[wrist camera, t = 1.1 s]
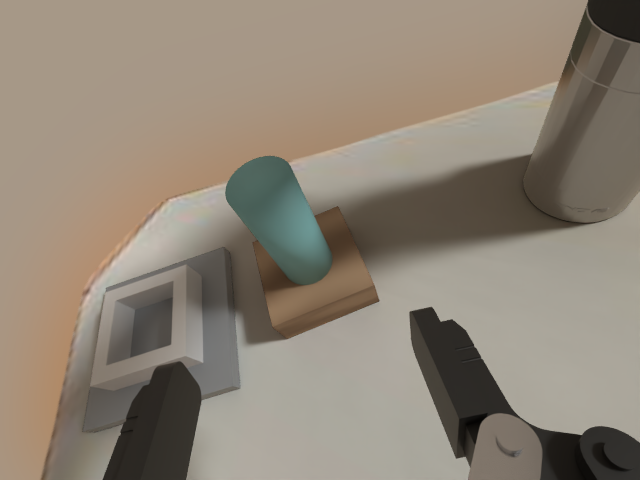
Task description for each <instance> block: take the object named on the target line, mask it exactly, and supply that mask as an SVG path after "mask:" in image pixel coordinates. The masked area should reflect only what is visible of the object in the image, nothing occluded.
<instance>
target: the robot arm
mask: <svg viewBox="0 0 640 480" xmlns="http://www.w3.org/2000/svg"><path fill="white" fill-rule="evenodd" d="M523 184H524V190H525V192H526V195H527V197H528V198H529V199H530V201H531V202H532V203H533V204H534V205H535V206H536V207H538V208H539V209H540V210H542V211H543V212H545V213H547V214H549V215H551V216H553V217H556V218H559V219H562V220H566V221H571V222H582V223H587V222H598V221H602V220H606V219H609V218H611V217H613V216H615V215H617V214H619V213H620V212H621V211H623V210H624V209H625V208H626V207H627V206H628V204H629V203H630V202H631V201H632V200H633V198H634V197H635V196H636V195H637V194H638V192H639V191H640V0H588V3H587V6H586V9H585V12H584V14H583V17H582V20H581V22H580V25H579V28H578V31H577V33H576V36H575V39H574V42H573V45H572V48H571V50H570V53H569V56H568V59H567V61H566V64H565V67H564V70H563V72H562V75H561V78H560V80H559V83H558V86H557V89H556V91H555V94H554V97H553V100H552V102H551V105H550V108H549V110H548V113H547V116H546V119H545V121H544V124H543V127H542V130H541V132H540V135H539V138H538V140H537V143H536V146H535V148H534V151H533V154H532V156H531V159H530V162H529V165H528V167H527V170H526V173H525V175H524V181H523ZM410 329H411V341H412V346H413V350H414V353H415V356H416V359H417V361H418V364H419V366H420V369H421V371H422V374H423V376H424V379H425V381H426V384H427V386H428V389H429V391H430V394H431V396H432V399H433V402H434V404H435V407H436V409H437V412H438V414H439V417H440V419H441V422H442V424H443V427H444V429H445V432H446V434H447V437H448V439H449V442H450V444H451V447H452V449H453V452H454V454H455V457H456V458H461V457H466V458H467V461H468V463H469V466H470V472H469V477H468V480H640V443H639V442H638V441H637V440H635V439H634V438H632V437H631V436H629V435H628V434H626V433H624V432H622V431H619V430H617V429H614V428H610V427H604V426H597V427H592V428H590V429H588V430H586V431H585V432H584V433H583V435H577V434H570V433H562V432H555V431H549V430H544V429H541V428H538V427H535V426H533V425H531V424H529V423H528V422H526V421H525V420H523V419H522V418H520V417H519V416H518V415H517V414H516V413H515V412H514V411H513V409H512V408H511V407H510V405H509V404H508V402H507V400H506V399H505V397H504V395H503V393H502V392H501V390H500V388H499V387H498V385H497V383H496V381H495V380H494V378H493V376H492V375H491V373H490V371H489V370H488V368H487V366H486V364H485V363H484V361H483V360H482V359H481V356H480V354H479V352H478V351H477V349H476V348H475V347H474V344H473V342H472V340H471V339H470V337H469V335H468V334H467V332H466V330H464V329H463V328H462V327H461V326H460V325H458V324H457V323H456V322H455V321H453V320H447V321H442V322H440V320H439V318H438V316H437V314H436V312H435V311H434V309H433V308H432V307H428V308H424V309H419V310H415V311H410ZM200 406H201V390H200V386H199V384H198V383H197V381H196V380H195V379H194V377H193V376H192V375H191V373H190V372H189V371H188V369H187V368H186V366H185V365H184V364H183V363H182V362H181V361H178V362H173V363H169V364H164V365H160V366H157V367H156V368H155V370H154V372H153V374H152V377H151V380H150V383H149V385H144V386H143V387H142V388H141V390H140V391H139V392H138V394H137V395H136V397H135V398H134V399H133V401H132V403H131V405H130V408H129V411H128V413H127V416H126V422H124V424H123V427H122V429H121V435H120V436H119V438H118V440H117V443H116V446H115V448H114V451H113V454H112V456H111V459H110V462H109V464H108V467H107V470H106V472H105V475H104V478H103V480H186V477H187V472H188V466H189V461H190V456H191V451H192V446H193V441H194V436H195V431H196V426H197V421H198V416H199V411H200Z"/></svg>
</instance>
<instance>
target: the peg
mask: <svg viewBox="0 0 640 480" xmlns="http://www.w3.org/2000/svg"><path fill="white" fill-rule="evenodd" d="M225 194H226V199H227V202H228V203H229V205H230V206H231V207H232V208H233V210H234V211H235V212H236V213H237V215H238V216H239V217H240V218H241V220H242V221H243V222H244V223H245V225H246V226H247V227H248V228H249V230H250V231H251V232H252V233H253V235H254V236H255V237H256V238H257V240H258V241H259V242H260V244H261V245H262V246H263V247H264V249H265V250H266V251H267V252H268V254H269V255H270V256H271V257H272V259H273V260H274V261H275V262H276V264H277V265H278V266H279V267H280V269H281V270H282V271H283V272H284V274H285V275H286V276H287V277H288V278H289V280H291V281H292V282H294V283H296V284H299V285H310V284H314V283H316V282H318V281H320V280H321V279H323V278H324V277H325V276H326V275H327V273H328V272H329V270H330V268H331V265H332V253H331V251H330V249H329V246H328V244H327V242H326V240H325V238H324V236H323V234H322V232H321V230H320V227H319V225H318V223H317V221H316V219H315V217H314V215H313V213H312V211H311V209H310V206H309V204H308V202H307V200H306V198H305V196H304V194H303V192H302V190H301V187H300V185H299V183H298V181H297V179H296V177H295V175H294V173H293V171H292V169H291V166H290V165H289V163H288V162H287V161H285V160H284V159H282V158H279V157H275V156H264V157H259V158H256V159H253V160H251V161H249V162H247V163H245V164H244V165H242V166H241V167H240V168H239V169H238V170H237V171H235V173H234V174H233V175H232V176H231V178H230V179H229V181H228V183H227V186H226V192H225Z"/></svg>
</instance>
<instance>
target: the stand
mask: <svg viewBox="0 0 640 480" xmlns="http://www.w3.org/2000/svg"><path fill="white" fill-rule="evenodd" d="M314 217H315V219H316V221H317V223H318V225H319V227H320V230H321V232H322V234H323V236H324V238H325V240H326V242H327V244H328V246H329V249H330V251H331V253H332V265H331V268H330V270H329V272H328V273H327V275H326V276H325V277H324V278H323V279H321V280H320V281H318V282H316V283H314V284H310V285H299V284H296V283H294V282H292V281H291V280H289V278H288V277H287V276H286V275H285V274H284V272H283V271H282V270H281V269H280V267H279V266H278V265H277V264H276V262H275V261H274V260H273V259H272V257H271V256H270V255H269V254H268V252H267V251H266V250H265V249H264V247H263V246H262V245H261V244H260V242H259V241H258V240H257V241H255V242H253V247H254V251H255V255H256V259H257V264H258V268H259V272H260V276H261V281H262V285H263V289H264V293H265V298H266V302H267V306H268V310H269V315H270V319H271V323H272V327H273V328H274V329H275V330H277V331H278V332H279V333H280V334H282V335H283V336H284V337H285V338H287V339H288V338H291V337H293V336H296V335H298V334H301V333H303V332H305V331H308V330H310V329H313V328H315V327H318V326H320V325H322V324H325V323H327V322H330V321H332V320H335V319H337V318H340V317H342V316H344V315H347V314H349V313H352V312H354V311H357V310H359V309H362V308H364V307H366V306H369V305H371V304H374V303H376V302H379V299H378V295H377V292H376V289H375V286H374V283H373V281H372V279H371V277H370V275H369V272H368V270H367V268H366V266H365V264H364V261H363V259H362V257H361V255H360V253H359V251H358V248H357V246H356V244H355V242H354V240H353V238H352V235H351V233H350V231H349V229H348V227H347V225H346V222H345V220H344V218H343V216H342V214H341V212H340V209H339V207H338V206H337V207H334V208H332V209H330V210H327V211H325V212H323V213H320V214H318V215H316V216H314Z"/></svg>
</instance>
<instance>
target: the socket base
mask: <svg viewBox="0 0 640 480" xmlns="http://www.w3.org/2000/svg"><path fill="white" fill-rule="evenodd" d="M178 361H181V362H182V363H183V364H184V365H185V366H186V368H187V369H188V371H189V372H190V373H191V375H192V376H193V377H194V379H195V380H196V381H197V383H198V384H199V386H200V390H201V400H203V399H207V398H210V397H213V396H217V395H220V394H223V393H227V392H230V391H233V390H236V389H240V377H239V364H238V351H237V338H236V325H235V312H234V299H233V286H232V273H231V260H230V252H229V251H228V250H227V249H226V248H225V247H222V248H219V249H216V250H213V251H211V252H208V253H205V254H202V255H199V256H196V257H193V258H190V259H188V260H185V261H182V262H179V263H176V264H173V265H170V266H167V267H165V268H162V269H159V270H156V271H153V272H150V273H147V274H145V275H142V276H139V277H136V278H133V279H130V280H127V281H124V282H122V283H119V284H116V285H113V286H110V287H107V288H106V292H105V297H104V303H103V309H102V315H101V321H100V327H99V333H98V339H97V345H96V351H95V357H94V363H93V369H92V375H91V381H90V390H89V396H88V402H87V408H86V414H85V420H84V426H83V432H98V431H101V430H104V429H108V428H111V427H114V426H118V425H121V424H124V422H126V416H127V413H128V411H129V408H130V405H131V403H132V401H133V399H134V398H135V397H136V395H137V394H138V392H139V391H140V390H141V388H142V387H143V386H144V385H149V383H150V380H151V377H152V374H153V372H154V370H155V368H156V367H157V366H160V365H164V364H169V363H173V362H178Z"/></svg>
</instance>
